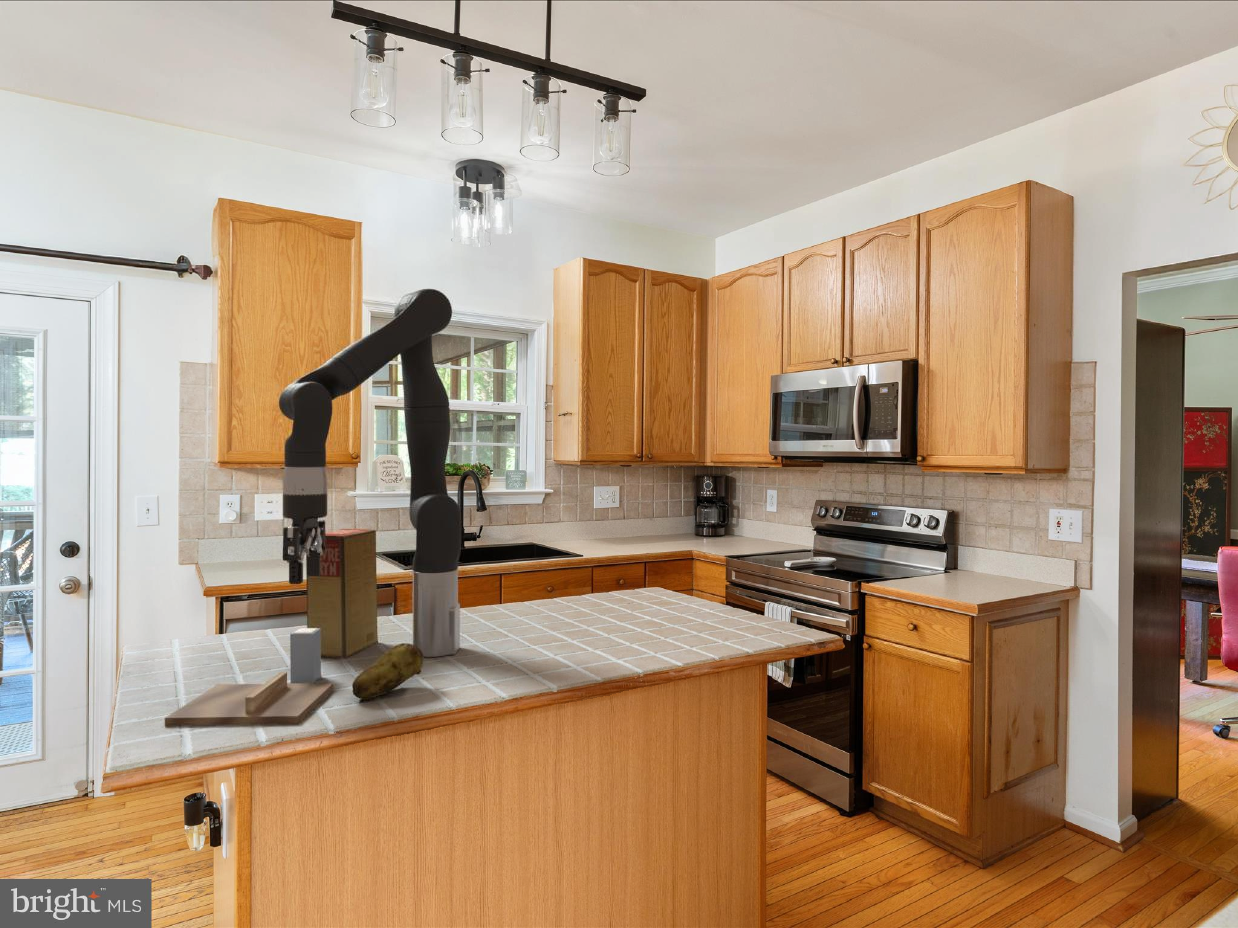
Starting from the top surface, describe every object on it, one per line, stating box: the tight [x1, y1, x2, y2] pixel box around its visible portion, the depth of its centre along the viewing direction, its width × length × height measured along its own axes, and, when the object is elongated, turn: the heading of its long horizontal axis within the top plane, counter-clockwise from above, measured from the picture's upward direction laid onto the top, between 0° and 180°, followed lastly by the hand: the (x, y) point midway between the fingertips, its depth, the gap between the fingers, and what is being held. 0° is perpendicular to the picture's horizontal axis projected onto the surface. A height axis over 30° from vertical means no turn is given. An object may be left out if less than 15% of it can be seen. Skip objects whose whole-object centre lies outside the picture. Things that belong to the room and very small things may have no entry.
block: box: [289, 627, 322, 684], centre depth 134 cm, size 4×4×9 cm
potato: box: [351, 642, 424, 701], centre depth 127 cm, size 8×13×8 cm, turn 124°
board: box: [164, 671, 334, 727], centre depth 120 cm, size 20×16×4 cm
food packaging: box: [305, 528, 379, 659], centre depth 155 cm, size 13×9×25 cm
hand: (305, 579), depth 134 cm, fingers open, 8 cm apart
